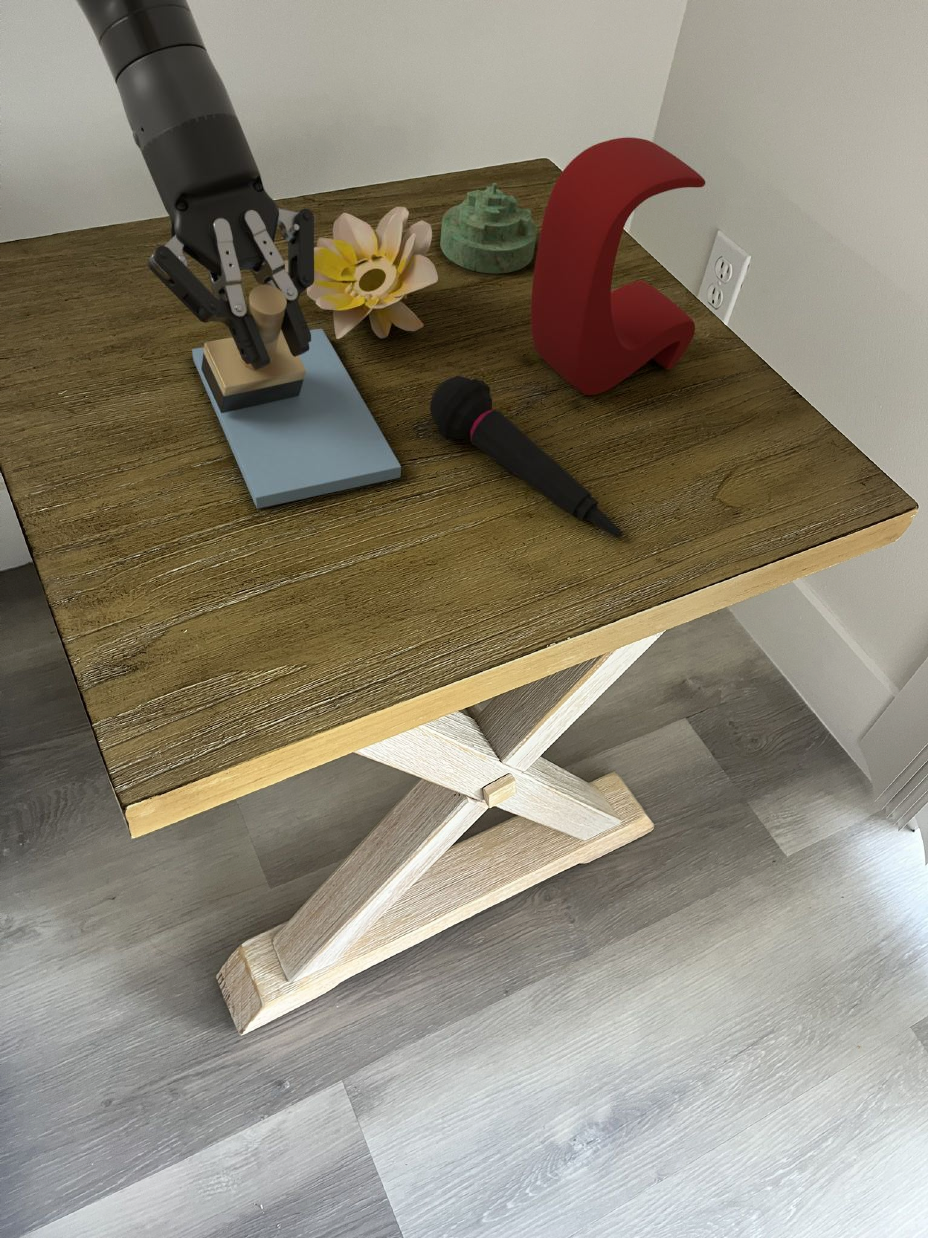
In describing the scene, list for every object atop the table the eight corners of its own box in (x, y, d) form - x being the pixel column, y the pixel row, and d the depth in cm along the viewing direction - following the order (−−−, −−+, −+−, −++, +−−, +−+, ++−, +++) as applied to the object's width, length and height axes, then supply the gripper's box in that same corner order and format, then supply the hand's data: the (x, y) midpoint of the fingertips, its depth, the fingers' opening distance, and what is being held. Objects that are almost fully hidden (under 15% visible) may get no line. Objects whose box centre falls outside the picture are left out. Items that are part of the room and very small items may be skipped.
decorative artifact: (517, 222, 109) (430, 226, 106) (526, 158, 103) (435, 161, 101) (545, 270, 103) (453, 276, 100) (557, 206, 97) (460, 210, 95)
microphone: (618, 552, 81) (446, 412, 87) (653, 499, 78) (471, 356, 83) (586, 571, 77) (407, 423, 83) (621, 516, 74) (432, 365, 79)
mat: (256, 509, 76) (255, 497, 75) (193, 360, 87) (191, 348, 86) (400, 477, 80) (401, 466, 79) (322, 338, 91) (322, 327, 90)
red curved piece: (562, 408, 88) (608, 191, 73) (516, 363, 92) (551, 148, 76) (685, 366, 94) (752, 158, 79) (637, 325, 98) (693, 119, 83)
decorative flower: (262, 259, 95) (283, 160, 89) (365, 265, 101) (392, 174, 95) (317, 356, 88) (346, 257, 81) (425, 357, 94) (460, 264, 87)
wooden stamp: (221, 413, 81) (235, 331, 71) (200, 369, 82) (212, 282, 72) (299, 396, 84) (322, 315, 74) (278, 353, 85) (299, 268, 75)
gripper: (108, 129, 66) (215, 377, 69) (289, 93, 72) (378, 322, 76) (88, 172, 72) (187, 397, 76) (255, 136, 79) (339, 345, 82)
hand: (282, 358), depth 76 cm, fingers closed on wooden stamp, 3 cm apart
